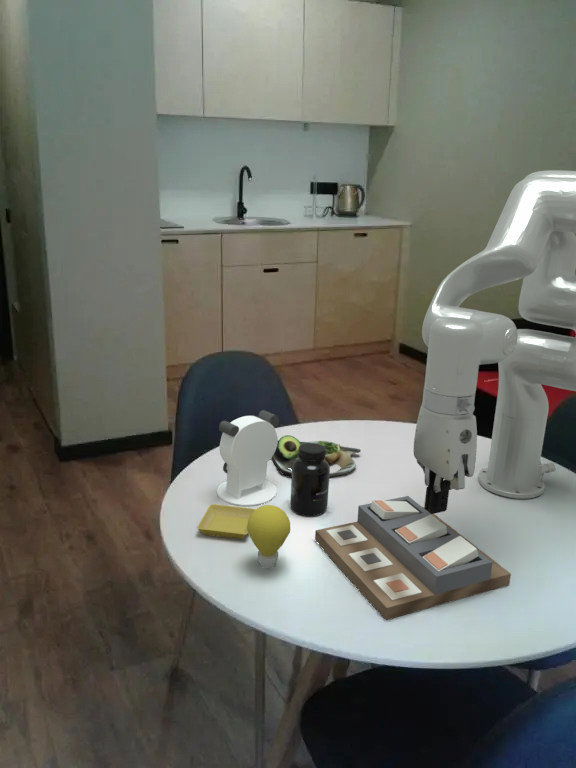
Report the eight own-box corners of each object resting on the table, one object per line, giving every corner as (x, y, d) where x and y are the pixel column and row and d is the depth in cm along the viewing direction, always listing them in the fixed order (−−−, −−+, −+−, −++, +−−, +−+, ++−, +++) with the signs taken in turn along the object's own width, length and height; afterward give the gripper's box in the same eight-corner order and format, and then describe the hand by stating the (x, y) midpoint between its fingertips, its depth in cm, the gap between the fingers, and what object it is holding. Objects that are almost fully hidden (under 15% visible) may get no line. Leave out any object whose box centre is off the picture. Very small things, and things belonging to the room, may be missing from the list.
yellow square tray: (246, 545, 111) (246, 534, 110) (196, 538, 112) (196, 527, 112) (257, 519, 119) (258, 509, 118) (210, 513, 120) (210, 503, 120)
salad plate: (348, 442, 153) (349, 423, 152) (375, 477, 136) (377, 456, 135) (265, 448, 149) (265, 428, 147) (282, 484, 132) (283, 463, 131)
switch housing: (406, 511, 119) (408, 495, 118) (489, 579, 100) (492, 561, 99) (357, 521, 115) (358, 505, 114) (434, 594, 96) (436, 576, 95)
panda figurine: (253, 472, 136) (254, 403, 131) (291, 493, 128) (294, 419, 123) (205, 489, 128) (204, 416, 123) (242, 512, 120) (243, 435, 116)
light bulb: (257, 581, 101) (258, 522, 98) (239, 558, 106) (240, 502, 103) (296, 570, 104) (299, 513, 101) (277, 549, 109) (279, 494, 106)
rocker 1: (403, 508, 116) (406, 500, 116) (417, 519, 113) (419, 511, 112) (370, 508, 113) (372, 499, 113) (383, 519, 110) (385, 510, 109)
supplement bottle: (324, 519, 119) (327, 457, 115) (286, 514, 120) (288, 453, 116) (330, 501, 125) (333, 442, 122) (294, 497, 127) (296, 438, 123)
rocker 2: (431, 521, 109) (431, 513, 109) (446, 533, 106) (446, 525, 105) (395, 537, 107) (394, 529, 106) (409, 550, 104) (409, 542, 103)
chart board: (424, 517, 121) (425, 505, 120) (509, 585, 102) (511, 571, 101) (314, 540, 112) (315, 528, 111) (385, 620, 93) (387, 606, 92)
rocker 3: (461, 542, 103) (459, 534, 102) (478, 556, 99) (476, 548, 99) (423, 563, 101) (422, 556, 100) (439, 578, 97) (438, 570, 97)
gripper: (502, 414, 95) (485, 528, 101) (438, 383, 108) (427, 486, 114) (459, 420, 92) (444, 538, 98) (399, 388, 105) (389, 493, 111)
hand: (435, 510), depth 106 cm, fingers closed
